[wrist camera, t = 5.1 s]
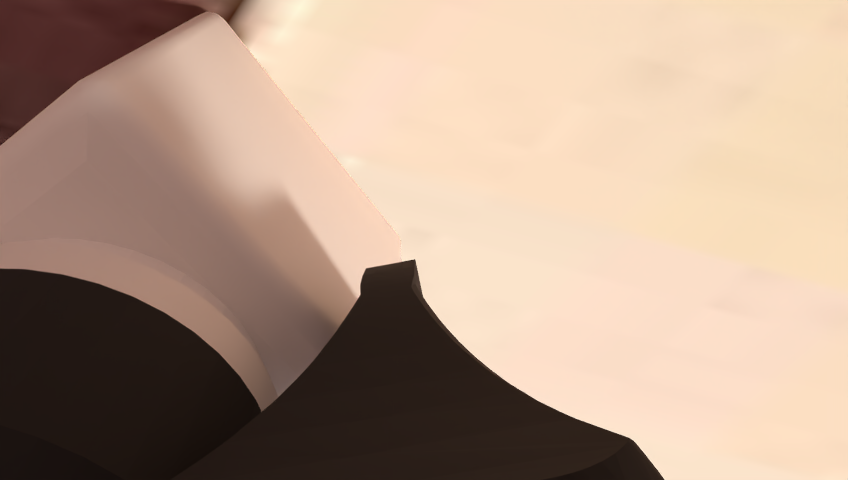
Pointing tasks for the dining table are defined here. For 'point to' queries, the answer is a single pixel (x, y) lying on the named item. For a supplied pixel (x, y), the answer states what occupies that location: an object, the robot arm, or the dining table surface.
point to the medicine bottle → (167, 260)
